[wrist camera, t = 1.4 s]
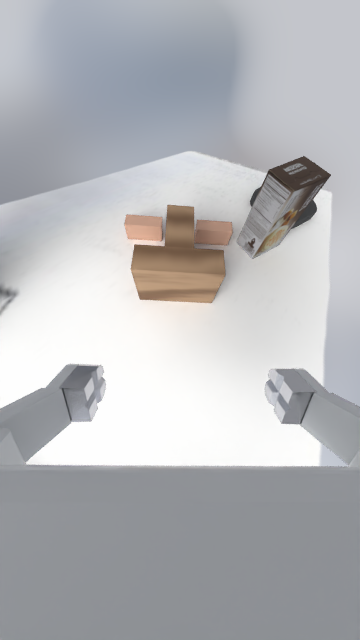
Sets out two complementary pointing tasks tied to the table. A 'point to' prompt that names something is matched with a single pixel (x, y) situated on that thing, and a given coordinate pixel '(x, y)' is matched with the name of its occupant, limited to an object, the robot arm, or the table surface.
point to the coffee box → (280, 204)
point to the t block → (178, 264)
